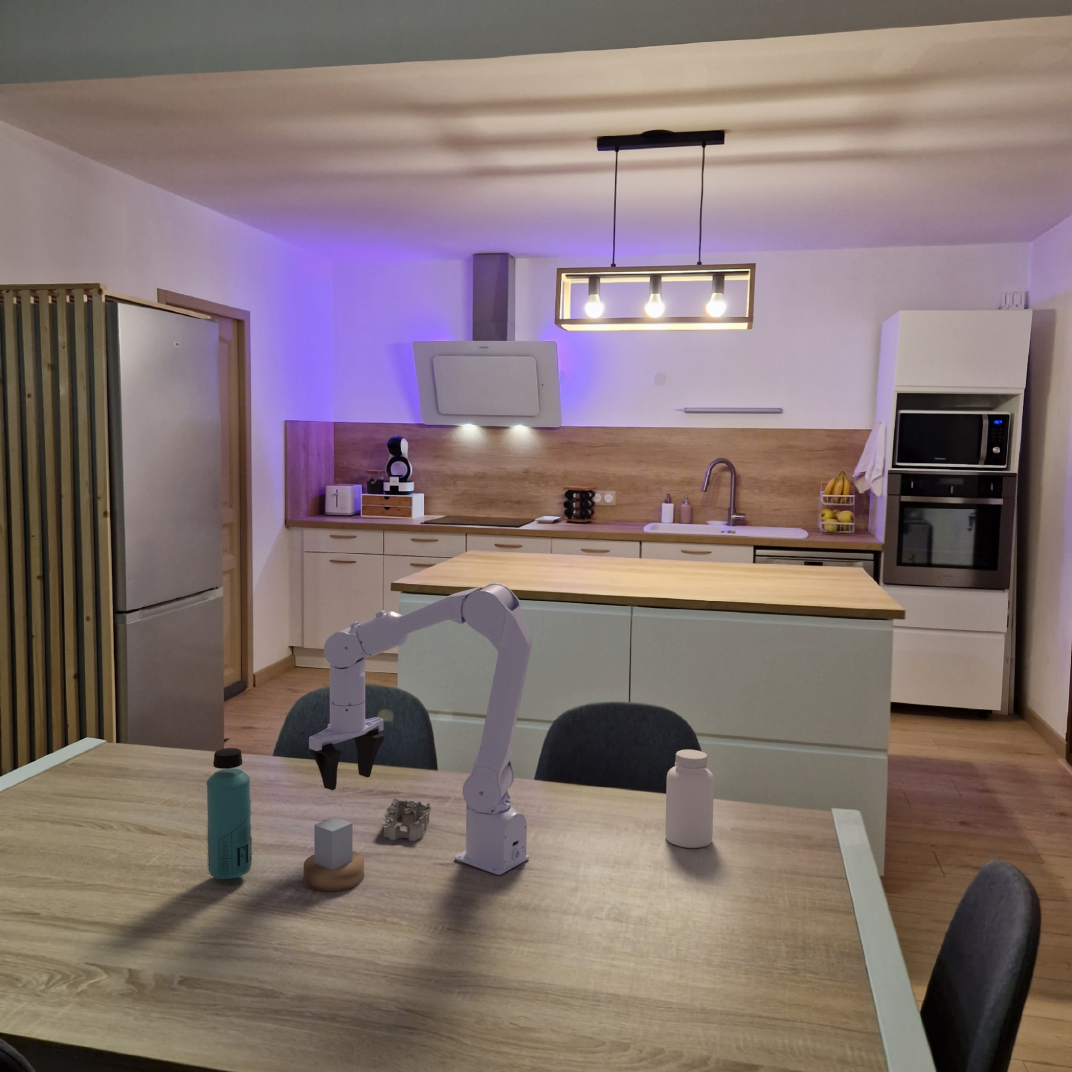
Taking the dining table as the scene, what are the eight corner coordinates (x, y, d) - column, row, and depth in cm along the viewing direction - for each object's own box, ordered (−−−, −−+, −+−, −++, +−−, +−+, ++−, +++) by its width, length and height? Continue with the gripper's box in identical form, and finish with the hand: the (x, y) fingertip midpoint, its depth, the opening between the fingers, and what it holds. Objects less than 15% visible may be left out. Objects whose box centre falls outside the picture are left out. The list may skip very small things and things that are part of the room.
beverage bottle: (238, 891, 137) (237, 759, 135) (198, 886, 138) (196, 755, 137) (260, 872, 143) (259, 745, 142) (221, 867, 145) (219, 742, 143)
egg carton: (421, 844, 156) (422, 820, 155) (377, 841, 156) (377, 818, 156) (434, 818, 166) (434, 796, 166) (393, 816, 167) (393, 794, 166)
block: (352, 861, 142) (352, 823, 142) (332, 870, 139) (332, 831, 138) (334, 854, 145) (334, 816, 144) (314, 862, 141) (314, 824, 141)
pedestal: (376, 875, 143) (376, 860, 143) (331, 897, 136) (331, 881, 135) (336, 859, 148) (336, 844, 148) (291, 880, 141) (291, 864, 141)
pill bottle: (710, 831, 162) (713, 747, 161) (714, 851, 154) (717, 763, 153) (664, 828, 163) (666, 745, 161) (665, 848, 155) (668, 760, 154)
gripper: (363, 688, 161) (363, 765, 162) (296, 706, 149) (296, 788, 150) (392, 695, 157) (392, 774, 158) (325, 714, 145) (326, 798, 146)
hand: (347, 782), depth 154 cm, fingers open, 7 cm apart
